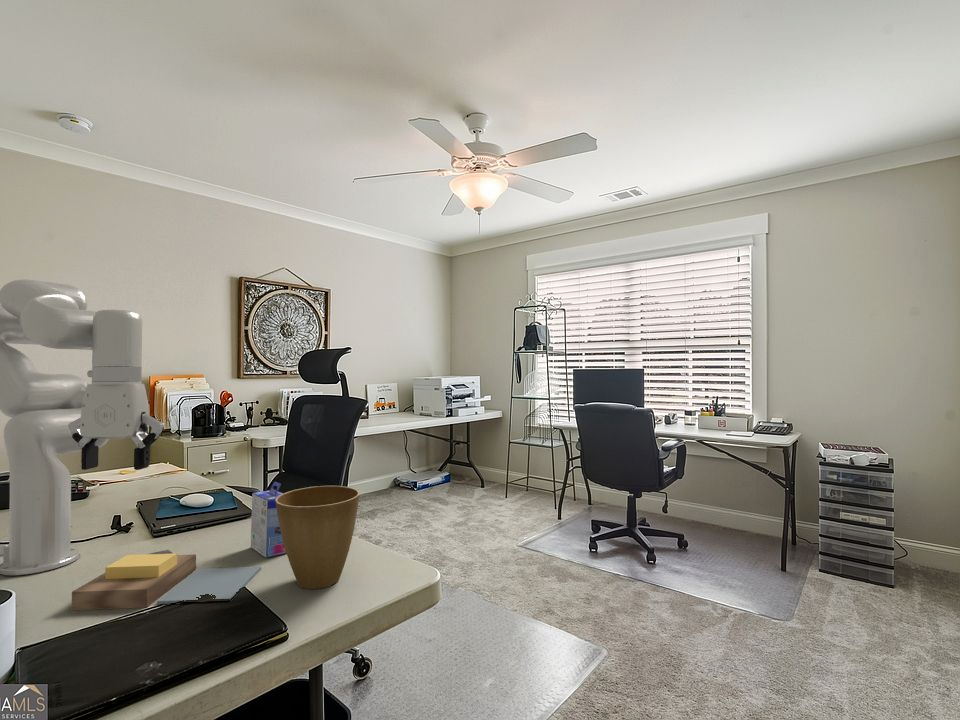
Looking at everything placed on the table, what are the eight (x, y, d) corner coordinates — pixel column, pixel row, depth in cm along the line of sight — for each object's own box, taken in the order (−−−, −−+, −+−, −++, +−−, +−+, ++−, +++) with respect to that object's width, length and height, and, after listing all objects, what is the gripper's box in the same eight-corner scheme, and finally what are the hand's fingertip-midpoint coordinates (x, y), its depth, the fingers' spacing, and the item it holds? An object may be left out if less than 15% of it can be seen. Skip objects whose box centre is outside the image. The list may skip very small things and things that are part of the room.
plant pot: (265, 579, 94) (265, 493, 94) (341, 560, 103) (341, 482, 103) (289, 607, 82) (289, 510, 83) (373, 583, 91) (372, 495, 92)
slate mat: (156, 604, 84) (157, 601, 84) (198, 571, 98) (198, 568, 98) (230, 601, 85) (230, 598, 85) (261, 569, 99) (261, 566, 99)
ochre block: (105, 578, 87) (105, 567, 88) (127, 565, 93) (127, 555, 94) (158, 577, 88) (158, 565, 88) (177, 564, 94) (177, 553, 94)
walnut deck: (71, 610, 82) (71, 591, 82) (133, 571, 98) (133, 556, 98) (147, 607, 83) (147, 589, 83) (196, 569, 99) (196, 554, 99)
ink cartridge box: (292, 552, 108) (292, 485, 108) (266, 559, 104) (266, 489, 105) (275, 541, 115) (274, 478, 116) (249, 547, 111) (249, 482, 112)
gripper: (54, 376, 90) (52, 472, 89) (149, 376, 89) (148, 472, 89) (87, 376, 97) (85, 464, 97) (175, 376, 97) (174, 464, 97)
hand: (115, 468), depth 93 cm, fingers open, 9 cm apart
